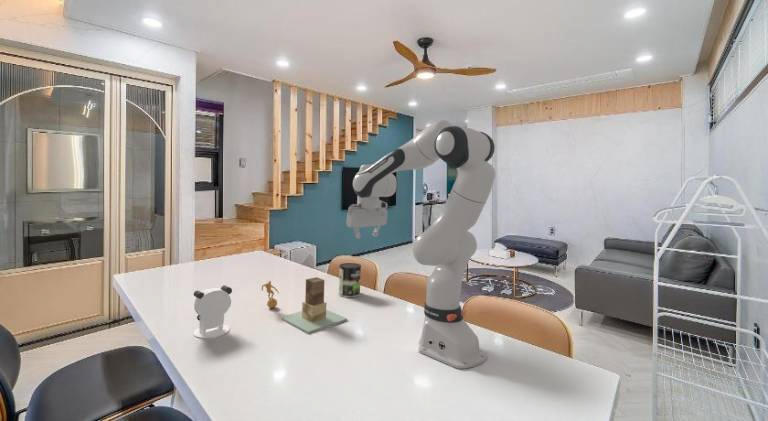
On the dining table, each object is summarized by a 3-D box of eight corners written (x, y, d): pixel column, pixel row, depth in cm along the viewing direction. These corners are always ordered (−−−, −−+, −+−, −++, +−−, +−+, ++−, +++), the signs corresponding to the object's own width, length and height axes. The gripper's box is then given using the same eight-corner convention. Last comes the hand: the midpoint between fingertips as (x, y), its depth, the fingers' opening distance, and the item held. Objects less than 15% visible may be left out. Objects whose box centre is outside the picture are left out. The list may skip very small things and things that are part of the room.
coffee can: (364, 294, 170) (365, 265, 168) (349, 299, 161) (350, 269, 160) (348, 289, 176) (349, 261, 175) (334, 294, 168) (334, 265, 166)
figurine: (283, 307, 147) (283, 279, 146) (274, 312, 142) (274, 283, 141) (266, 304, 150) (267, 277, 149) (257, 309, 144) (257, 280, 143)
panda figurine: (222, 321, 131) (222, 282, 130) (237, 330, 124) (237, 288, 123) (187, 331, 122) (187, 289, 120) (202, 341, 114) (202, 296, 113)
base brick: (326, 318, 136) (326, 302, 136) (312, 322, 131) (312, 306, 131) (316, 313, 140) (316, 298, 140) (302, 317, 136) (302, 302, 135)
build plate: (347, 320, 136) (347, 318, 136) (308, 333, 123) (308, 331, 123) (319, 308, 149) (319, 306, 148) (280, 319, 135) (280, 316, 135)
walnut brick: (323, 302, 135) (324, 279, 135) (313, 305, 132) (313, 282, 131) (316, 299, 139) (316, 277, 138) (305, 302, 135) (305, 279, 135)
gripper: (354, 204, 134) (353, 240, 135) (390, 203, 149) (388, 236, 150) (343, 203, 139) (342, 238, 140) (379, 202, 153) (378, 234, 155)
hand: (366, 237), depth 145 cm, fingers open, 8 cm apart
